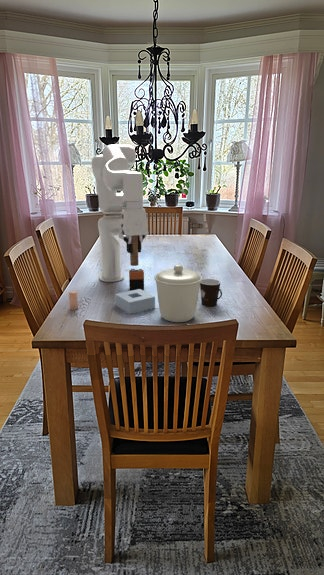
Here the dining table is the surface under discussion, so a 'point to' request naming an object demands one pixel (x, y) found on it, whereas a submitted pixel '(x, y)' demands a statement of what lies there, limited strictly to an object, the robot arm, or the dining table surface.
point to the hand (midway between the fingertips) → (134, 252)
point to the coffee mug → (210, 292)
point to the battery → (136, 279)
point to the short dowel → (73, 300)
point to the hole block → (134, 301)
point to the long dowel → (134, 251)
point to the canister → (177, 293)
